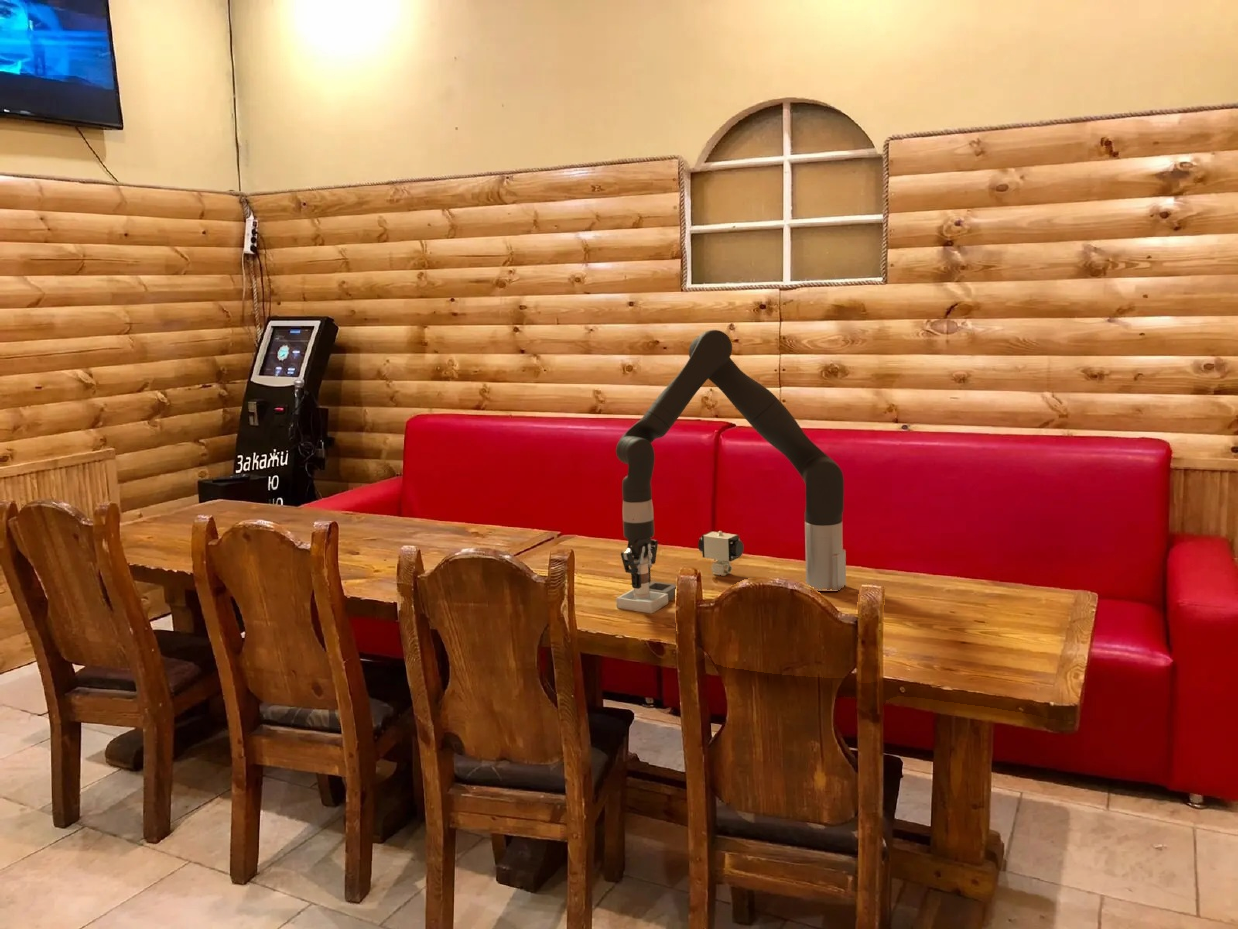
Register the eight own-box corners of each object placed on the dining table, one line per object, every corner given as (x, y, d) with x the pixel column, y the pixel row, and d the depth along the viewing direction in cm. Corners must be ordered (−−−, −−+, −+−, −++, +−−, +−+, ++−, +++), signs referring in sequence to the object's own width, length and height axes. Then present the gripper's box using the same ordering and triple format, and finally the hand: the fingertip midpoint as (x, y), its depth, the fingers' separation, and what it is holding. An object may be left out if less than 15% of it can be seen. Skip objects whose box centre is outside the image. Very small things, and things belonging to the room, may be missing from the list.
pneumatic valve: (736, 579, 251) (734, 535, 249) (698, 573, 258) (697, 530, 256) (746, 574, 255) (745, 530, 253) (709, 568, 262) (707, 526, 260)
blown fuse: (653, 595, 234) (651, 556, 232) (644, 600, 231) (642, 561, 229) (639, 593, 236) (637, 555, 235) (630, 598, 233) (628, 559, 231)
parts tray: (668, 603, 235) (667, 593, 234) (651, 613, 228) (651, 603, 228) (634, 598, 240) (633, 588, 240) (616, 607, 233) (616, 598, 233)
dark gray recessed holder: (679, 594, 241) (679, 584, 241) (665, 602, 235) (665, 592, 235) (652, 590, 246) (652, 580, 245) (638, 598, 240) (638, 588, 239)
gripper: (635, 525, 222) (639, 596, 225) (666, 512, 234) (669, 579, 237) (609, 523, 226) (613, 591, 229) (640, 510, 238) (643, 575, 241)
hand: (641, 585), depth 233 cm, fingers closed on blown fuse, 4 cm apart
